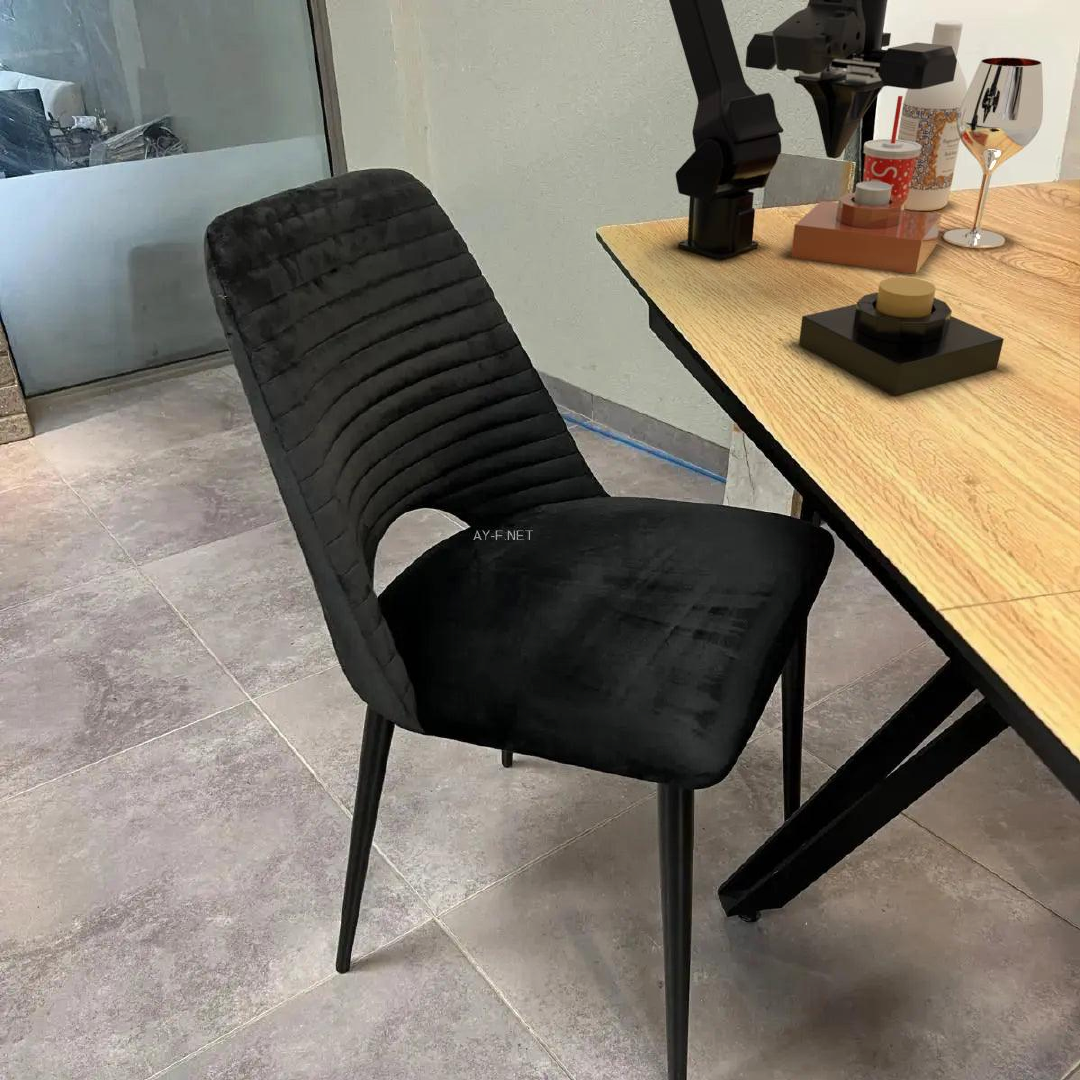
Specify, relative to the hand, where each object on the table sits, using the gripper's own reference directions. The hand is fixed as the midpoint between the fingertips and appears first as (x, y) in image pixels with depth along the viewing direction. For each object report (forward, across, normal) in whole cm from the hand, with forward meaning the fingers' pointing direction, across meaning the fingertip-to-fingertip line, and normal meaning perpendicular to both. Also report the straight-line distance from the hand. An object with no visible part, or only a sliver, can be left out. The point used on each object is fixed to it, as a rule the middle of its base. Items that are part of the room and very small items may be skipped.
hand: (833, 157), depth 97 cm
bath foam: (+12, -8, +31) cm, 34 cm away
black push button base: (+12, +16, -11) cm, 23 cm away
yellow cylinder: (+8, +16, -11) cm, 21 cm away
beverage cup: (+12, -6, +20) cm, 24 cm away
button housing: (+12, -2, +11) cm, 16 cm away
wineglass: (+12, +4, +23) cm, 26 cm away
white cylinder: (+7, -2, +11) cm, 13 cm away
